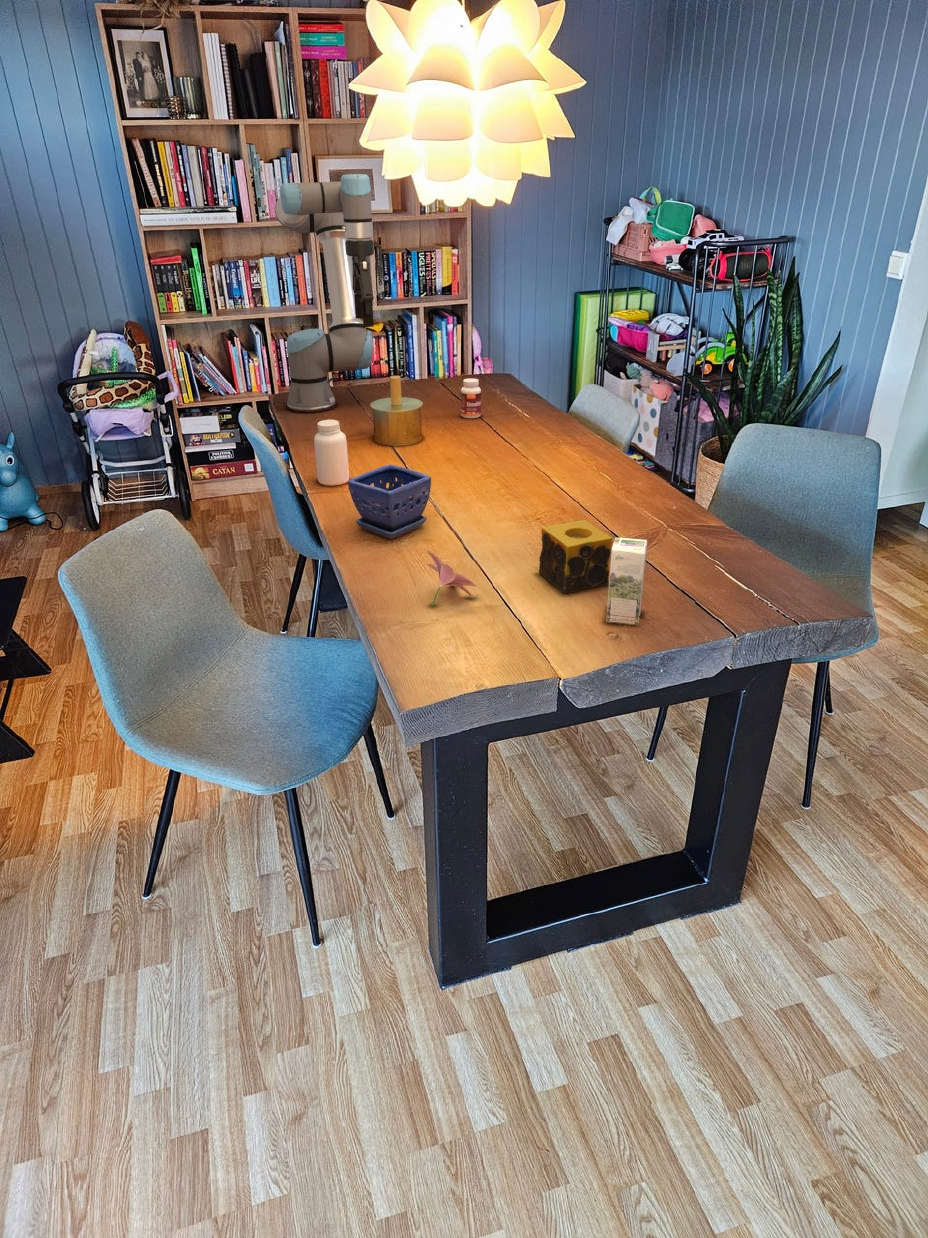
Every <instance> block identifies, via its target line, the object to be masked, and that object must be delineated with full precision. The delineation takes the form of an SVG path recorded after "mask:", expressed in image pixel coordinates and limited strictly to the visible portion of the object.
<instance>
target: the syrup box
mask: <svg viewBox="0 0 928 1238" xmlns="http://www.w3.org/2000/svg"><path fill="white" fill-rule="evenodd" d="M612 543H613V544H612V546H611V554H610V565H609V578H608V591H607V594H608V595H607V606H606V607H607V608H606V619H605V620H606V621H605V623H607V624H608V623H609V624H616V625H617V624H618V625H626V626H635V627H636V626H639V622H640V617H639V616H641V611H642V597H643V588H644V587H643V586H644V578H645V568H646V561H647V560H646V559H647V552H648V551H647V550H648V540H647V539H639V538H638V539H637V538H629V537H619V536H618V537H617V536H615V537H614V540H613V542H612ZM609 618H611V619H609ZM617 619H628V620H639V621H638V622H635V621H626V620H617Z"/></svg>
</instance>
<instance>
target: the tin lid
mask: <svg viewBox="0 0 928 1238" xmlns="http://www.w3.org/2000/svg"><path fill="white" fill-rule="evenodd" d="M389 385H390V386H389V387H390V388H389V389H390V390H389V391H390V397H385V398H380V399H376V400H374V401H372V402H370V405H369V406H370V409H371V410H372V409H373V410H375V411H378V412H384V413H404V412H411V411H415V410H418V409H420V408H421V409H422V407H423V406H424V403H423V401H421V400H420V399H417V398H413V397H406V396H405V397H404V396H402V378H401V376H400V375H391V376H389Z"/></svg>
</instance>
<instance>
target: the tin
mask: <svg viewBox="0 0 928 1238" xmlns="http://www.w3.org/2000/svg"><path fill="white" fill-rule="evenodd" d="M371 410H372V424H373V425H372V426H373V439H374V442H375V443H376V444H378V445H382V446H388V447H404V446H405V447H406V446H412V445H414V444H417V443H419V442H421V441H422V440H423V423H422V407H421V408H420V409H418V410H415V411H411V412H404V413H384V412H378V411H375V410H373V409H371Z"/></svg>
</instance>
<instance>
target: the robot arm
mask: <svg viewBox="0 0 928 1238" xmlns="http://www.w3.org/2000/svg"><path fill="white" fill-rule="evenodd" d="M274 213H275V217H276V219H277V221H278V222H279V224H280V225H281V226H283V227H285V228H286V229H288V230H290V231H293V232H297V233H302V234H315V236H316V237H315V238H316V240H317V241H318V242H319V243H320V244H321V245H322V252H323V259H324V268H325V275H326V282H327V289H328V296H329V297H328V298H329V303H330V312H331V318H332V323H331V324H330V325H329V326H328V333H325V332H324V330H323V329H322V328H308V329H303V330H298V331H295V332H293V333H290V335H288V337H286V338H287V339H286V354H287V359H288V369H289V378H290V379H289V380H290V385H289V390H288V396H287V400H286V401H287V402H286V405H287V410H289V411H293V412H296V413H319V412H326V411H329V410H331V409H333V408H335V407H336V405H337V404H336V399H335V395H334V393H333V391H332V385H331V384H330V383H331V382H332V381H333V382H336V381H337V380H336V379H335V377H330V378H328V373H337V372H347V371H349V372H350V371H360V370H367V369H368V368H370V366H371V364H372V361H373V351H374V339H373V333H372V331H371V330H369V329H367V328H374V327H375V325H374V324H375V323H374V307H373V305H374V304H373V301H374V292H373V285H372V284H373V283H372V276H371V267H370V261H369V260H367V257H370V256H373V255H374V254H375V245H374V243H375V241H374V240H373V238H374V225H373V223H374V222H373V212H372V187H371V182H370V177H369V175H368V174H365V173H352V174H351V173H350V174H348V173H347V174H343V175H341V177H340V181H319V182H295V181H293V182H285V183H282V184H281V185H280V187H279V197H278V198H277V200H276V202H275V205H274ZM361 319H362V320H361Z"/></svg>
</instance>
